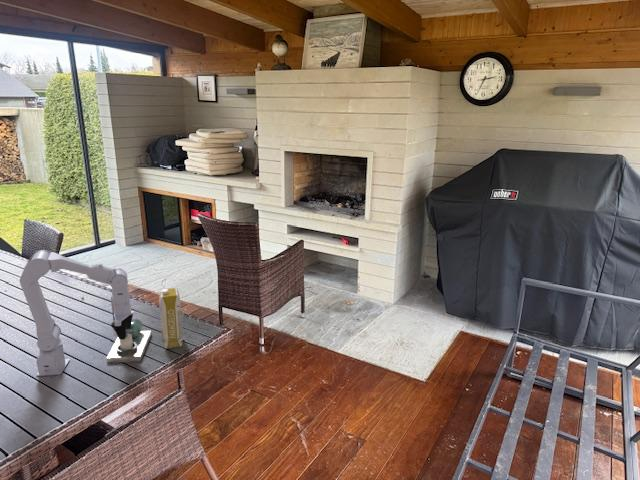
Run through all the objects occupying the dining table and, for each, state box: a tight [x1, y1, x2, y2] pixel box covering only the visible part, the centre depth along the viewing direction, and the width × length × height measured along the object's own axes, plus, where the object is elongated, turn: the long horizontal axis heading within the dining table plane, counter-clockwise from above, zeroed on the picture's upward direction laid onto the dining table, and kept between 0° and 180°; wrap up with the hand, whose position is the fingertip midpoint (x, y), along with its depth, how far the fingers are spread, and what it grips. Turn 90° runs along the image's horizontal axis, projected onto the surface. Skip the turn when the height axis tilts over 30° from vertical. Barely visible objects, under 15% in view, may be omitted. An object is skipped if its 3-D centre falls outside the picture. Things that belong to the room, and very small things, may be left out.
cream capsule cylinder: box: [119, 333, 133, 351], centre depth 170 cm, size 4×4×7 cm
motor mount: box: [106, 318, 152, 363], centre depth 175 cm, size 20×12×8 cm, turn 9°
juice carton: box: [158, 287, 184, 349], centre depth 177 cm, size 9×8×24 cm
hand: (125, 333), depth 169 cm, fingers open, 7 cm apart
